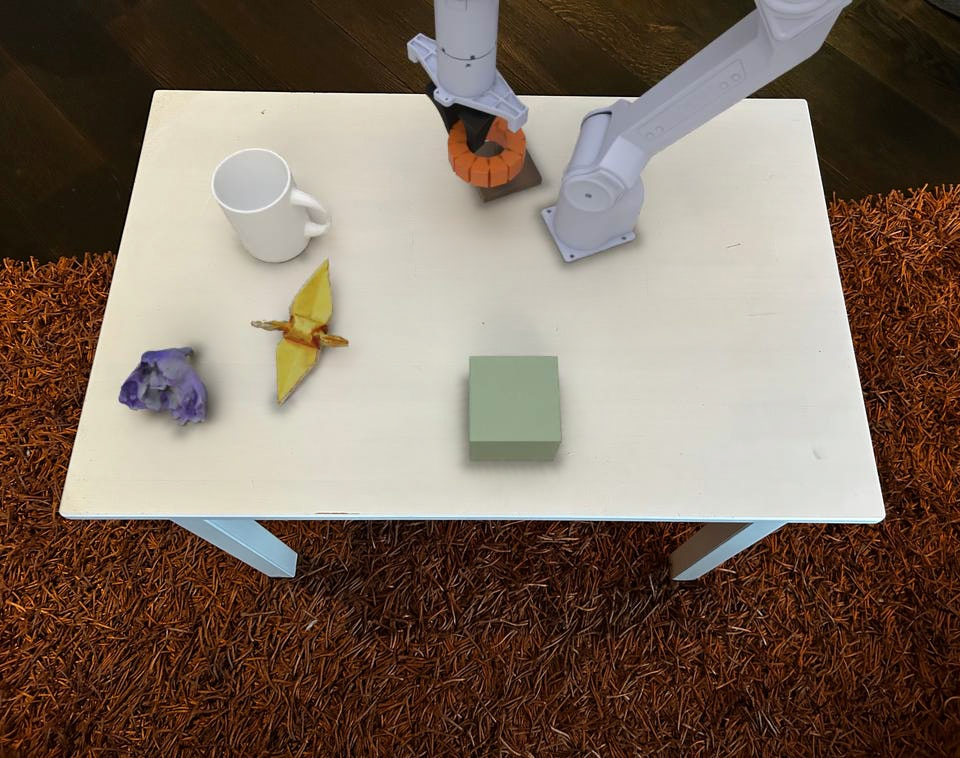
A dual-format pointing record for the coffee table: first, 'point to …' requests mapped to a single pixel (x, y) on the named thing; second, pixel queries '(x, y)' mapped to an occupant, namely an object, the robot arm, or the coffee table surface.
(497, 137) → the ring
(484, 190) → the stand
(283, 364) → the origami crane
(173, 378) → the purple lumpy chunk
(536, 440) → the block
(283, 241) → the mug
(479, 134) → the robot arm
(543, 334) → the coffee table surface
